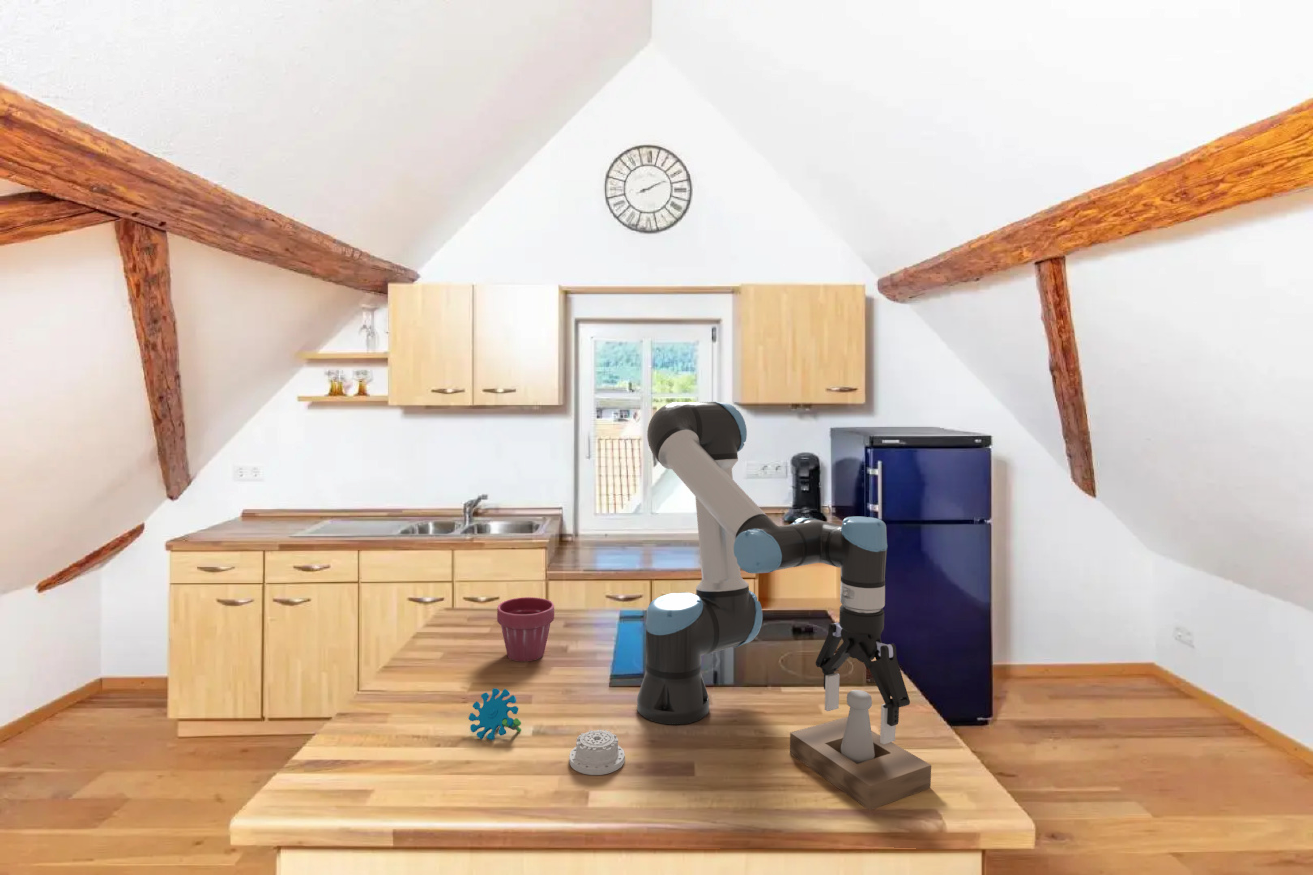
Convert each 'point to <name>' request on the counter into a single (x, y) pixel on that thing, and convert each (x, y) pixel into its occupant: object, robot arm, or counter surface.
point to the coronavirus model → (495, 714)
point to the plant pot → (525, 626)
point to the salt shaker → (858, 728)
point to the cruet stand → (861, 765)
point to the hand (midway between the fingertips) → (858, 724)
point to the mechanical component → (597, 753)
